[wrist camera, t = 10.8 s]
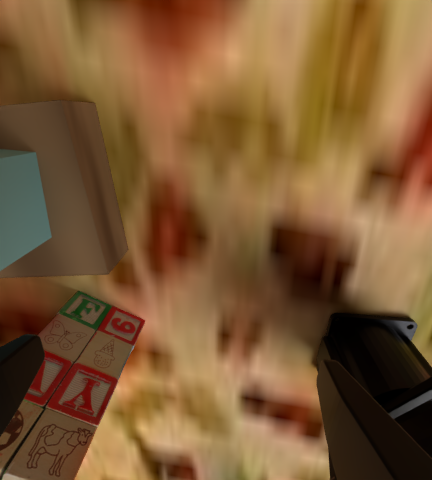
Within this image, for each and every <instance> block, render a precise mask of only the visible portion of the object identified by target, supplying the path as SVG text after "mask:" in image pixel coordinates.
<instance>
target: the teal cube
mask: <svg viewBox="0 0 432 480" xmlns="http://www.w3.org/2000/svg"><path fill="white" fill-rule="evenodd" d="M51 237H52V236H51V231H50V226H49V220H48V215H47V209H46V204H45V199H44V193H43V188H42V183H41V177H40V172H39V166H38V161H37V156H36V152H28V151H17V150H6V149H0V271H1V270H3V269H4V268H6V267H7V266H9V265H10V264H12V263H13V262H15V261H16V260H18V259H19V258H21V257H22V256H24V255H25V254H27V253H29V252H30V251H32V250H33V249H35V248H36V247H38V246H39V245H41V244H42V243H44V242H45V241H47V240H48V239H50V238H51Z"/></svg>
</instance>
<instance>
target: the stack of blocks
mask: <svg viewBox="0 0 432 480" xmlns="http://www.w3.org/2000/svg"><path fill="white" fill-rule="evenodd" d="M144 323H145V320H143V319H141V318H138V317H136V316H134V315H132V314H130V313H127V312H125V311H123V310H121V309H118V308H116V307H114V306H111V305H109V304H106V303H104V302H102V301H100V300H98V299H95V298H93V297H91V296H89V295H87V294H84V293H82V292H80V291H78V292H77V293H76V294H75V295H74V296H73V297H72V298H71V299H70V300H69V301H68V302H67V303H66V304H65V305H64V306H63V307H62V308H61V309H60V310H59V311H58V313H57V314H56V316H55V317H54V318H53V320H52V321H51V322H50V323H49V324H48V325H47V326H46V327H45V328H44V329H43V330H42V331H41V332H40V333H39V334H38V336H39V337H40V338H41V341H42V345H43V348H44V352H45V358H44V361H43V363H42V365H41V367H40V369H39V371H38V373H37V375H36V377H35V379H34V380H33V382H32V384H31V386H30V388H29V390H28V392H27V394H26V396H25V397H24V399H23V401H22V403H21V405H20V407H19V408H18V410H17V412H16V413H15V415H14V417H13V418H12V420H11V421H10V423H9V424H8V426H7V428H6V429H5V431H4V432H3V434H2V435H1V437H0V480H74V479H75V477H76V475H77V473H78V470H79V468H80V466H81V464H82V461H83V459H84V457H85V455H86V453H87V450H88V448H89V446H90V444H91V441H92V439H93V436H94V434H95V431H96V429H97V427H98V425H99V423H100V421H101V419H102V417H103V415H104V413H105V410H106V408H107V406H108V404H109V402H110V399H111V397H112V395H113V392H114V390H115V388H116V385H117V383H118V380H119V377H120V375H121V373H122V370H123V368H124V365H125V363H126V361H127V359H128V357H129V355H130V353H131V352H132V350H133V348H134V346H135V344H136V341H137V339H138V337H139V334H140V332H141V330H142V328H143V326H144Z"/></svg>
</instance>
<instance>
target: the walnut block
mask: <svg viewBox="0 0 432 480" xmlns="http://www.w3.org/2000/svg"><path fill="white" fill-rule="evenodd" d="M0 149H6V150H17V151H28V152H36V156H37V161H38V166H39V172H40V177H41V183H42V188H43V193H44V199H45V204H46V209H47V215H48V220H49V226H50V231H51V236H52V237H51V238H50V239H48V240H47V241H45V242H44V243H42V244H41V245H39V246H38V247H36V248H35V249H33V250H32V251H30V252H29V253H27V254H25V255H24V256H22V257H21V258H19V259H18V260H16V261H15V262H13V263H12V264H10V265H9V266H7V267H6V268H4V269H3V270H1V271H0V278H13V277H43V276H74V275H105V274H109V273H110V272H111V271H112V269H113V268H114V267H115V266H116V264H117V263H118V262H119V261H120V259H121V258H122V257H123V256H124V255H125V253H126V252H127V251H128V246H127V241H126V237H125V233H124V228H123V224H122V219H121V215H120V211H119V206H118V202H117V197H116V193H115V189H114V184H113V180H112V176H111V171H110V167H109V162H108V158H107V154H106V149H105V145H104V140H103V136H102V132H101V127H100V123H99V118H98V114H97V110H96V105H95V103H87V102H77V101H66V100H55V101H45V102H35V103H24V104H14V105H3V106H0Z"/></svg>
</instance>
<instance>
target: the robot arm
mask: <svg viewBox="0 0 432 480" xmlns="http://www.w3.org/2000/svg"><path fill="white" fill-rule="evenodd" d="M336 319H339V320H336ZM408 325H409V326H408ZM416 328H417V324H416V323H415V321H414V320H413V319H410V318H398V317H385V316H372V315H359V314H346V313H334V314H332V315H331V317H330V320H329V323H328V327H327V331H326V335H325V336H324V337H323V338H322V341H321V344H320V348H319V352H318V356H317V362H318V364H317V371H318V376H317V389H318V395H319V401H320V406H321V412H322V418H323V424H324V430H325V435H326V440H327V444H328V450H329V467H330V480H432V367H431V366H430V365H429V363H428V362H427V361H426V360H425V358H424V357H423V356H422V354H421V353H420V352H419V351H418V349H417V348H416V347H415V345H414V344H413V343H412V342H411V340H412V337H413V335H414V333H415V331H416ZM44 358H45V352H44V348H43V345H42V341H41V338H40V337H39V336H38V335H31V334H25V335H23V336H21V337H19V338H17V339H15V340H13V341H11V342H9V343H7V344H5V345H4V346H2V347H0V437H1V435H2V434H3V432H4V431H5V429H6V428H7V426H8V424H9V423H10V421H11V420H12V418H13V417H14V415H15V413H16V412H17V410H18V408H19V407H20V405H21V403H22V401H23V399H24V397H25V396H26V394H27V392H28V390H29V388H30V386H31V384H32V382H33V380H34V379H35V377H36V375H37V373H38V371H39V369H40V367H41V365H42V363H43V361H44Z"/></svg>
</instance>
